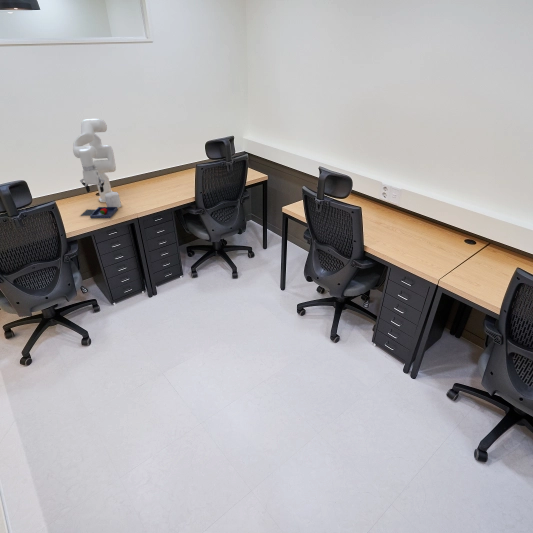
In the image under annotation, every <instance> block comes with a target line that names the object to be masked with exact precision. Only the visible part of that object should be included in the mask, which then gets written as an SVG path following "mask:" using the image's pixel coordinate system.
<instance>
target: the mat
mask: <svg viewBox="0 0 533 533" xmlns="http://www.w3.org/2000/svg"><path fill="white" fill-rule="evenodd" d="M95 210H96V209H86V210H84V212H83V213H82V214H81V215H80V216H81V217H90V215H91V214H92V213H93V212H94V211H95Z"/></svg>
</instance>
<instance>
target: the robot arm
mask: <svg viewBox="0 0 533 533" xmlns="http://www.w3.org/2000/svg"><path fill="white" fill-rule="evenodd" d="M107 129H108V125H107V123H106V121H105V120H104V119H101V118H87V119H83V120H82V121H81V123H80V135H78V137H76V138H75V139H74V141H73V144H72V153H73V156H74V157H75V158H76V159H80V163H81V166H82V169H83V170H82V177H83V178H81V179H80V180H79V182H80V183H81V185H83V186H84V187H85V190H86V192H87V193H90V192H91V188H90V185H95V186H96V187H97V190H98V194H99V198H98V202H100V203H106V200H105V194H107V193H110V192H114V191H113V190H112V186H111V182H110V178H109V176H108V175H107V174H106V173H108V174H109V173H115V172H116V170H117V167H116V160H115V154H114V153H115V152H114V150H113V147H112V146H111V145H109V144H102V139H101V137H100V136H98V135H97V134H96V133H106V132H107V131H108V130H107ZM88 144H89V145H88ZM94 159H95V160H94Z"/></svg>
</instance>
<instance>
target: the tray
mask: <svg viewBox="0 0 533 533" xmlns="http://www.w3.org/2000/svg"><path fill="white" fill-rule="evenodd" d="M103 208H106V209H107V213H106V214H105V215H102V214H101V213H100V210H101V209H103ZM118 209H119V208H117V207H107V206H98V207H96V208H95V209H94V210H95V211H94V212H93V213H92V214H91V215H90V216H89V218H90V219H111V218H112V217H113V216H114V215H115V214H116V212H117V211H118Z"/></svg>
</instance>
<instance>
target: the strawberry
mask: <svg viewBox="0 0 533 533" xmlns="http://www.w3.org/2000/svg"><path fill="white" fill-rule="evenodd" d="M100 213H101V214H102V215H105V214H106V213H107V209H106V208H103V209H101V210H100Z"/></svg>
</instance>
